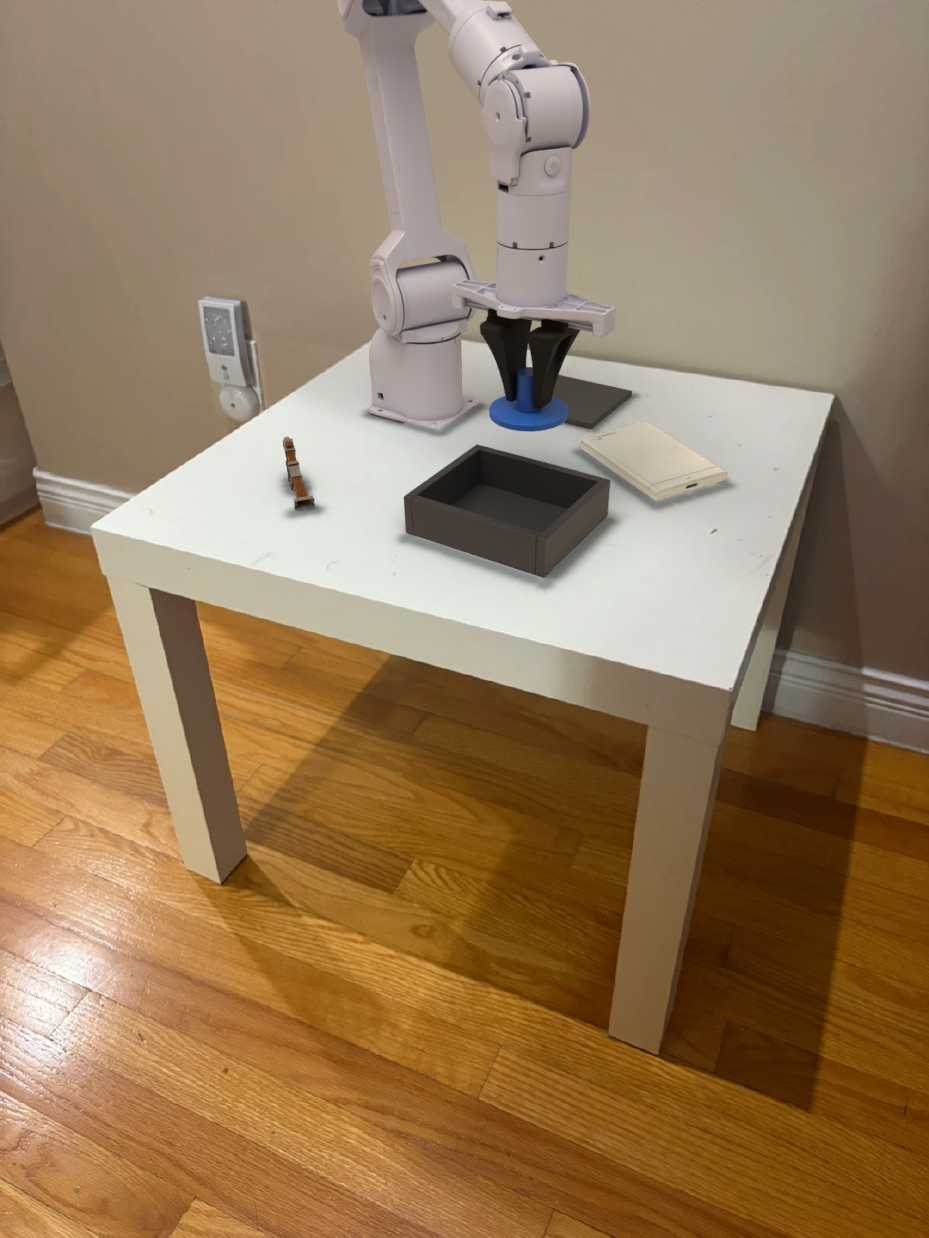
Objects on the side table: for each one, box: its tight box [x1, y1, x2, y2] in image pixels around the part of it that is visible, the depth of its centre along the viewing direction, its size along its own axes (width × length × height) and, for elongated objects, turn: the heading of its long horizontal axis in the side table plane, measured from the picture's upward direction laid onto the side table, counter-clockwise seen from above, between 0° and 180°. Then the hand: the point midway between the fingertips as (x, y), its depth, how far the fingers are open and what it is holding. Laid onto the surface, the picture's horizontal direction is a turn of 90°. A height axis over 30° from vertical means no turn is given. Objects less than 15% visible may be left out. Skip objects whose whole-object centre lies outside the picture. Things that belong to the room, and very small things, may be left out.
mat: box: [553, 374, 633, 429], centre depth 105 cm, size 10×10×1 cm
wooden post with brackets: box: [282, 436, 316, 508], centre depth 89 cm, size 2×8×4 cm, turn 18°
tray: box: [403, 443, 611, 579], centre depth 83 cm, size 14×12×4 cm
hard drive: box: [579, 421, 728, 501], centre depth 92 cm, size 2×8×12 cm
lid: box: [488, 366, 568, 432], centre depth 84 cm, size 7×7×4 cm
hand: (528, 400), depth 84 cm, fingers closed on lid, 2 cm apart
